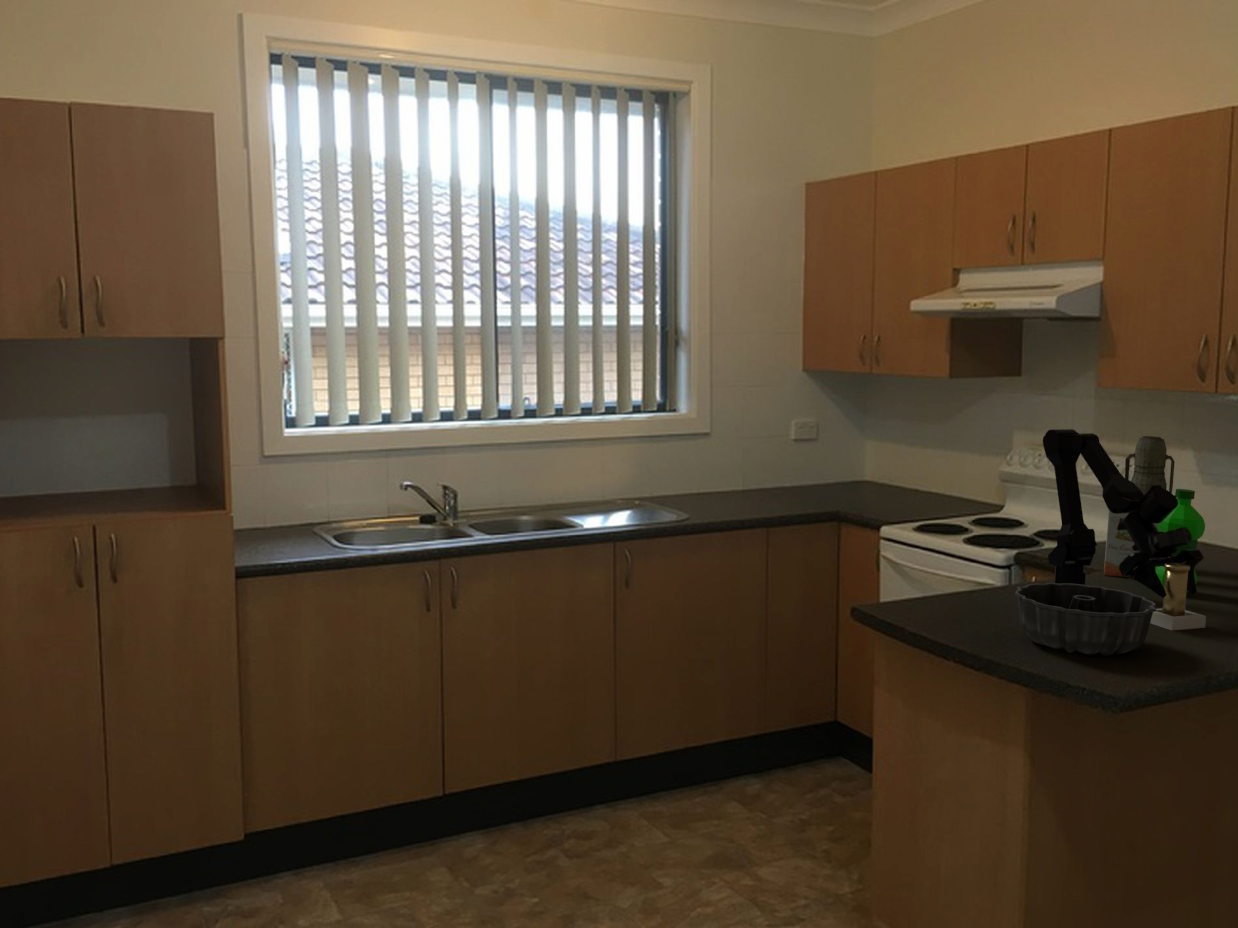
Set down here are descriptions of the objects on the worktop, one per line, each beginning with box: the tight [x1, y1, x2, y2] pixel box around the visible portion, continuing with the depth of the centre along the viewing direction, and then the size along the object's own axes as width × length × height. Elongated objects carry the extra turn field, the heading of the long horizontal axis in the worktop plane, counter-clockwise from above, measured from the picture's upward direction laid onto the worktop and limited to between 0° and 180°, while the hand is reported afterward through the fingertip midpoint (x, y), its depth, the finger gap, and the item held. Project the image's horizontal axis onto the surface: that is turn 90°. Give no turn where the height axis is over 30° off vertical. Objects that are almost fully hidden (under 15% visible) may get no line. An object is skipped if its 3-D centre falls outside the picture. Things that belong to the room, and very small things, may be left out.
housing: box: [1150, 607, 1207, 631], centre depth 256 cm, size 8×9×2 cm
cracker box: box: [1103, 509, 1160, 579], centre depth 304 cm, size 14×6×21 cm, turn 68°
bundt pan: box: [1014, 582, 1157, 657], centre depth 238 cm, size 26×26×10 cm
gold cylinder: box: [1162, 563, 1190, 617], centre depth 256 cm, size 5×5×13 cm
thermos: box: [1124, 435, 1175, 495], centre depth 315 cm, size 9×12×35 cm
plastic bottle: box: [1156, 488, 1206, 593], centre depth 285 cm, size 10×10×25 cm
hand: (1179, 595), depth 255 cm, fingers open, 8 cm apart
